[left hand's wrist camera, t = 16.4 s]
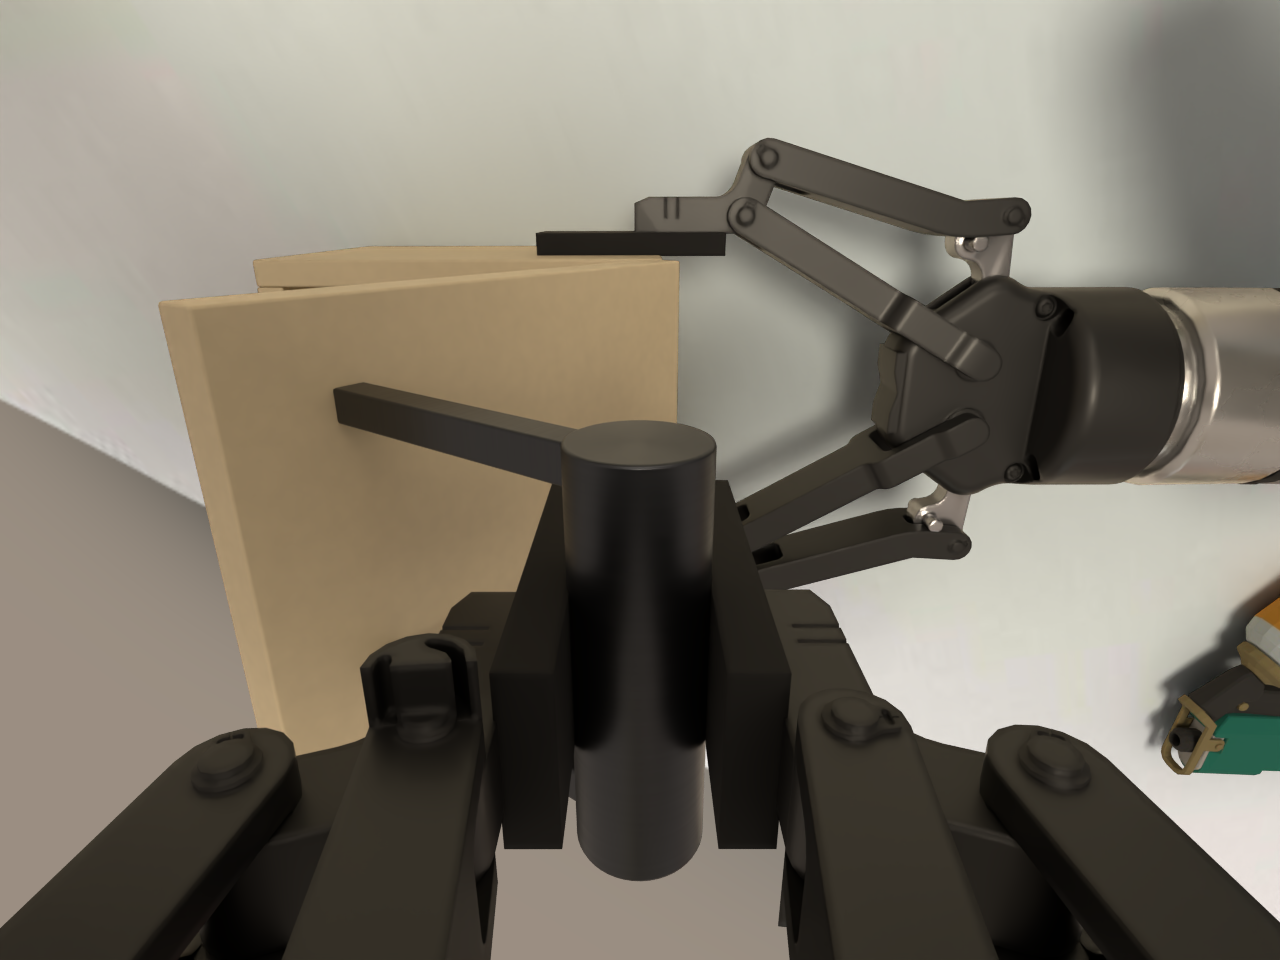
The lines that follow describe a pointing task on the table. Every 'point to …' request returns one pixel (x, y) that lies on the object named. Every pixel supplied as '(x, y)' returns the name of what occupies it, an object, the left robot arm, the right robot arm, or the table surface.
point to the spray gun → (1234, 710)
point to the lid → (467, 506)
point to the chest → (409, 264)
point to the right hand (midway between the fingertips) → (548, 388)
